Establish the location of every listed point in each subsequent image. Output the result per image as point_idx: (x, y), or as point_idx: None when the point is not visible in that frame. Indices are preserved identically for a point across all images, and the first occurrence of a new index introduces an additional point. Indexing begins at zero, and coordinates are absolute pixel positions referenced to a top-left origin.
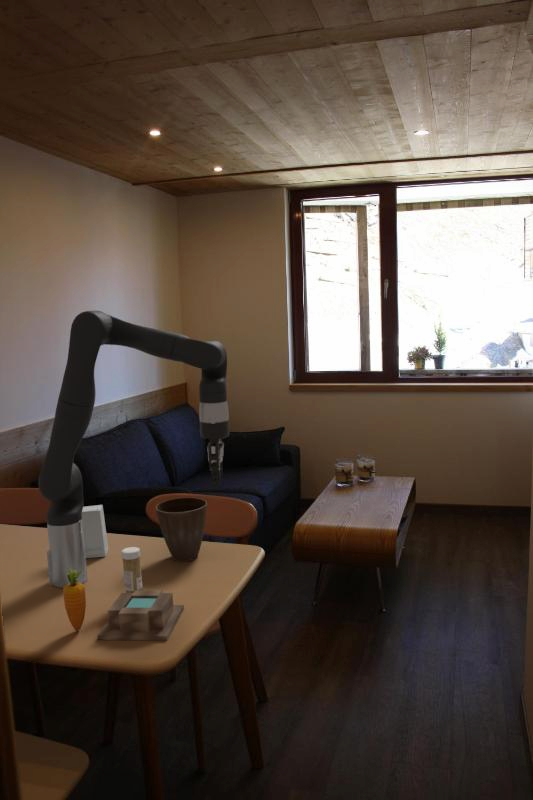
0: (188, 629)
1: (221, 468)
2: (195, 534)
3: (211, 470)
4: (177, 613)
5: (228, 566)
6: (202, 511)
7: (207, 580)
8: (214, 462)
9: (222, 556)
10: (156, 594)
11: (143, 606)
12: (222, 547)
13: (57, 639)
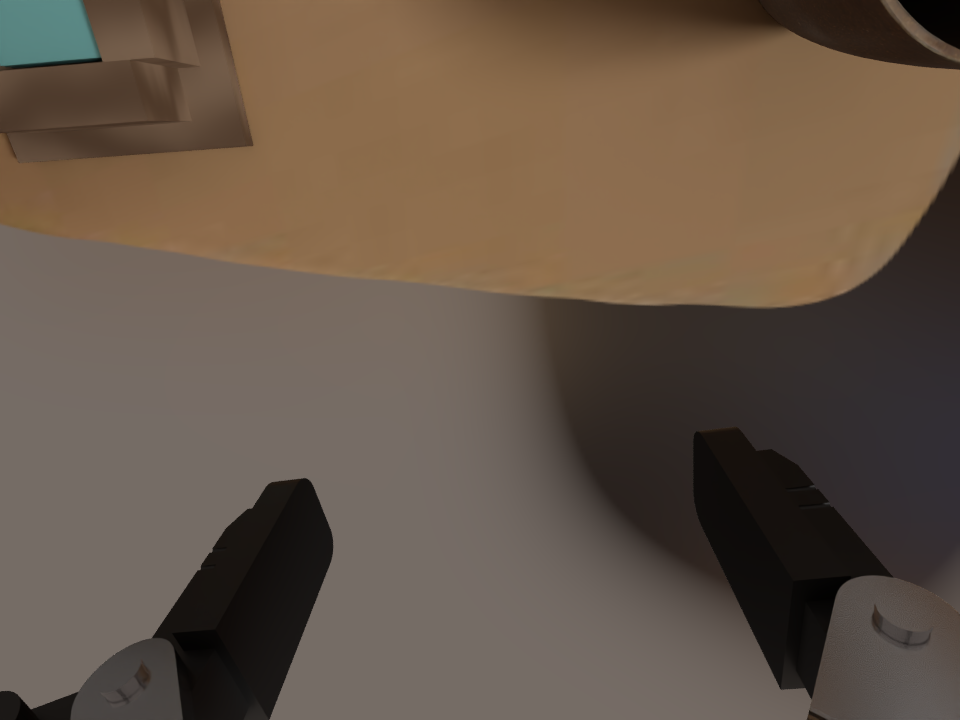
0: (123, 210)
1: (732, 587)
2: (802, 24)
3: (184, 639)
4: (176, 145)
5: (660, 216)
6: (927, 59)
7: (514, 164)
8: (815, 591)
9: (785, 160)
10: (109, 46)
11: (7, 22)
12: (912, 129)
13: None
